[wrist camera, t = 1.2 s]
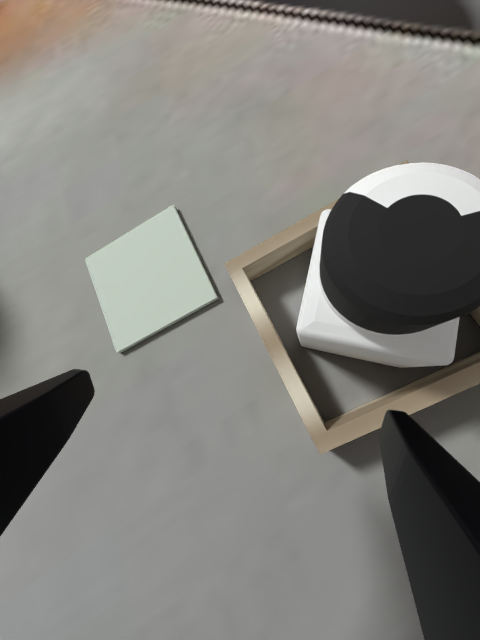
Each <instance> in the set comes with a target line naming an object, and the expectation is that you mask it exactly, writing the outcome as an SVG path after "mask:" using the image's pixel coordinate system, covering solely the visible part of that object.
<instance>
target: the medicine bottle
mask: <svg viewBox="0 0 480 640" xmlns="http://www.w3.org/2000/svg"><path fill="white" fill-rule="evenodd" d="M478 307H480V179H479V178H477V177H475V176H474V175H472V174H470V173H468V172H465V171H463V170H461V169H458V168H454V167H451V166H448V165H442V164H436V163H409V164H402V165H396V166H392V167H389V168H385V169H382V170H380V171H377V172H375V173H372V174H370V175H368V176H367V177H365V178H363V179H361V180H360V181H358V182H357V183H355V184H354V185H353V186H351V187H350V188H349V189H348V190H347V191H346V192H345V193H344V194H343V195H342V196H341V197H340V198H339V200H338V201H337V202H336V203H335V205H334V207H333V208H332V209H326V210H324V211H323V212H322V213H321V215H320V219H319V224H318V228H317V233H316V238H315V243H314V247H313V252H312V257H311V261H310V266H309V271H308V275H307V280H306V285H305V290H304V294H303V299H302V304H301V308H300V313H299V318H298V322H297V327H296V330H297V335H298V338H299V341H300V344H301V346H303V347H306V348H310V349H315V350H320V351H324V352H329V353H333V354H338V355H343V356H347V357H352V358H357V359H361V360H366V361H371V362H375V363H380V364H384V365H389V366H394V367H398V368H406V367H423V366H441V365H449V364H450V363H452V362H453V360H454V355H455V347H456V340H457V333H458V326H459V318H460V317H461V316H464V315H466V314H467V313H469V312H471V311H473V310H475V309H477V308H478Z"/></svg>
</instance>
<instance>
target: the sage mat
mask: <svg viewBox="0 0 480 640" xmlns="http://www.w3.org/2000/svg"><path fill="white" fill-rule="evenodd" d="M85 261H86V264H87V267H88V269H89V272H90V275H91V278H92V281H93V284H94V287H95V290H96V293H97V296H98V299H99V302H100V305H101V308H102V311H103V314H104V317H105V320H106V323H107V326H108V329H109V332H110V335H111V338H112V341H113V344H114V347H115V349H116V352H117V353H121V352H123V351H125V350H127V349H129V348H130V347H132V346H134V345H136V344H138V343H139V342H141V341H143V340H145V339H147V338H149V337H150V336H152V335H154V334H156V333H158V332H159V331H161V330H163V329H165V328H167V327H169V326H170V325H172V324H174V323H176V322H178V321H179V320H181V319H183V318H185V317H187V316H189V315H190V314H192V313H194V312H196V311H198V310H199V309H201V308H203V307H205V306H207V305H209V304H210V303H212V302H214V301H216V300H218V299H219V298H218V296H217V294H216V292H215V290H214V288H213V285H212V283H211V281H210V279H209V277H208V275H207V273H206V271H205V269H204V267H203V264H202V262H201V260H200V258H199V256H198V254H197V252H196V250H195V248H194V245H193V243H192V241H191V239H190V237H189V235H188V233H187V231H186V229H185V227H184V224H183V222H182V220H181V218H180V216H179V214H178V212H177V210H176V208H175V206H174V205H172V206H170V207H169V208H167V209H165V210H164V211H162V212H161V213H159V214H157V215H156V216H154V217H152V218H151V219H149V220H148V221H146V222H144V223H143V224H141V225H139V226H138V227H136V228H135V229H133V230H131V231H130V232H128V233H126V234H125V235H123V236H122V237H120V238H118V239H117V240H115V241H113V242H112V243H110V244H109V245H107V246H105V247H104V248H102V249H100V250H99V251H97V252H95V253H94V254H92V255H91V256H89V257H87V258H86V259H85Z"/></svg>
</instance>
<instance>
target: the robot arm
mask: <svg viewBox="0 0 480 640" xmlns="http://www.w3.org/2000/svg"><path fill="white" fill-rule="evenodd" d="M94 392H95V391H94V387H93V384H92V381H91V378H90V374H89V373H88V372H87V371H86V370H80V369H73V370H70V371H68V372H66V373H63V374H61V375H58V376H56V377H53V378H51V379H49V380H46V381H44V382H41V383H39V384H36V385H34V386H32V387H29V388H27V389H24V390H22V391H19V392H17V393H15V394H12V395H10V396H7V397H5V398H2V399H0V536H1V535H2V533H3V532H4V530H5V529H6V528H7V526H8V525H9V523H10V522H11V520H12V519H13V518H14V516H15V515H16V513H17V512H18V511H19V509H20V508H21V506H22V505H23V504H24V502H25V501H26V499H27V498H28V496H29V495H30V494H31V492H32V491H33V489H34V488H35V487H36V485H37V484H38V482H39V481H40V479H41V478H42V477H43V475H44V474H45V472H46V471H47V470H48V468H49V467H50V465H51V464H52V462H53V461H54V460H55V458H56V457H57V455H58V454H59V453H60V451H61V450H62V448H63V447H64V445H65V444H66V442H67V441H68V439H69V438H70V436H71V435H72V433H73V431H74V429H75V428H76V426H77V424H78V423H79V421H80V419H81V417H82V416H83V414H84V412H85V411H86V409H87V407H88V405H89V404H90V402H91V400H92V399H93V396H94ZM379 437H380V446H381V453H382V460H383V466H384V473H385V480H386V487H387V493H388V499H389V503H390V508H391V512H392V516H393V519H394V523H395V527H396V531H397V535H398V539H399V543H400V546H401V550H402V554H403V558H404V562H405V566H406V570H407V573H408V577H409V581H410V585H411V589H412V593H413V597H414V601H415V604H416V608H417V612H418V616H419V620H420V624H421V628H422V631H423V635H424V639H425V640H480V482H479V481H478V480H477V479H476V478H475V477H474V476H473V475H472V474H471V473H470V472H468V471H467V470H466V469H465V468H464V467H463V466H462V465H461V464H460V463H459V462H458V461H457V460H456V459H455V458H454V457H453V456H452V455H450V454H449V453H448V452H447V451H446V450H445V449H444V448H443V447H442V446H441V445H440V444H439V443H438V442H437V441H436V440H435V439H434V438H432V437H431V436H430V435H429V434H428V433H427V432H426V431H425V430H424V429H423V428H422V427H421V426H420V425H419V424H418V423H417V422H415V421H414V420H413V419H412V418H411V417H410V416H409V415H408V414H407V413H406V412H404V411H398V410H387V411H386V413H385V416H384V419H383V423H382V426H381V429H380V435H379Z"/></svg>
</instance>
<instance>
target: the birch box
mask: <svg viewBox="0 0 480 640" xmlns="http://www.w3.org/2000/svg"><path fill="white" fill-rule="evenodd" d="M402 164H409V162H408V161H407V160H406V161H405V162H403V163H401V164H399V165H402ZM338 200H339V199H338ZM338 200H336V201H334V202H332V203H331V204H329V205H327V206H325V207H324V208H322V209H320V210H318V211H316V212H315V213H313V214H311V215H309V216H308V217H306V218H304V219H302V220H301V221H299V222H297V223H295V224H294V225H292V226H290V227H288V228H286V229H285V230H283V231H281V232H279V233H278V234H276V235H274V236H272V237H271V238H269V239H267V240H265V241H264V242H262V243H260V244H258V245H257V246H255V247H253V248H251V249H249V250H248V251H246V252H244V253H242V254H241V255H239V256H237V257H235V258H234V259H232V260H230V261H228V262H227V263H225V266H226V268H227V270H228V272H229V274H230V276H231V278H232V280H233V282H234V284H235V286H236V288H237V290H238V292H239V294H240V296H241V298H242V300H243V302H244V304H245V306H246V308H247V310H248V312H249V314H250V316H251V318H252V320H253V322H254V324H255V326H256V328H257V330H258V332H259V334H260V336H261V338H262V340H263V342H264V344H265V346H266V348H267V350H268V352H269V354H270V356H271V358H272V360H273V362H274V364H275V366H276V368H277V370H278V372H279V374H280V376H281V378H282V380H283V382H284V384H285V386H286V388H287V390H288V392H289V394H290V396H291V398H292V400H293V402H294V404H295V406H296V408H297V410H298V412H299V414H300V416H301V418H302V420H303V422H304V424H305V425H306V427H307V429H308V431H309V433H310V435H311V437H312V439H313V441H314V443H315V445H316V447H317V449H318V451H319V453H320V454H323V453H325V452H327V451H329V450H332V449H334V448H336V447H338V446H341V445H343V444H345V443H347V442H350V441H352V440H354V439H356V438H359V437H361V436H363V435H365V434H368V433H370V432H372V431H374V430H377V429H379V428H381V426H382V423H383V419H384V416H385V413H386V411H387V410H398V411H404V412H406V413H407V414H408V415H410V414H413V413H415V412H417V411H419V410H422V409H424V408H426V407H428V406H431V405H433V404H435V403H437V402H440V401H442V400H444V399H446V398H449V397H451V396H453V395H455V394H458V393H460V392H462V391H464V390H467V389H469V388H471V387H473V386H476V385H478V384H480V352H477V353H475V354H473V355H471V356H469V357H467V358H464V359H462V360H460V361H458V362H456V363H453V364H451V365H449V366H447V367H445V368H443V369H440V370H438V371H436V372H434V373H432V374H430V375H427V376H425V377H423V378H421V379H419V380H416V381H414V382H412V383H410V384H408V385H406V386H403V387H401V388H399V389H397V390H395V391H392V392H390V393H388V394H386V395H384V396H382V397H379V398H377V399H375V400H373V401H371V402H369V403H366V404H364V405H362V406H360V407H358V408H355V409H353V410H351V411H349V412H347V413H345V414H342V415H340V416H338V417H336V418H334V419H331V420H329V421H327V422H325V423H324V421H323V419H322V417H321V415H320V413H319V412H318V410H317V408H316V406H315V404H314V402H313V400H312V398H311V396H310V394H309V392H308V390H307V389H306V387H305V385H304V383H303V381H302V379H301V377H300V375H299V373H298V371H297V369H296V367H295V366H294V364H293V362H292V360H291V358H290V356H289V354H288V352H287V350H286V348H285V346H284V344H283V343H282V341H281V339H280V337H279V335H278V333H277V331H276V329H275V327H274V325H273V323H272V321H271V320H270V318H269V316H268V314H267V312H266V310H265V308H264V306H263V304H262V302H261V300H260V298H259V297H258V295H257V293H256V291H255V289H254V287H253V285H252V283H251V281H252V280H254V279H256V278H258V277H259V276H261V275H263V274H265V273H267V272H268V271H270V270H272V269H274V268H276V267H278V266H279V265H281V264H283V263H285V262H287V261H288V260H290V259H292V258H294V257H296V256H298V255H299V254H301V253H303V252H305V251H307V250H308V249H310V248H312V247H314V243H315V238H316V233H317V228H318V224H319V219H320V215H321V213H322V212H323V211H324V210H326V209H332V208H333V207H334V205H335V203H336V202H337V201H338ZM469 313H470V314H471V316H472V317H473V318H474V320H475V321H476V322H477V324H478V325H479V326H480V307H478V308H477V309H475V310H473V311H471V312H469Z"/></svg>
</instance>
